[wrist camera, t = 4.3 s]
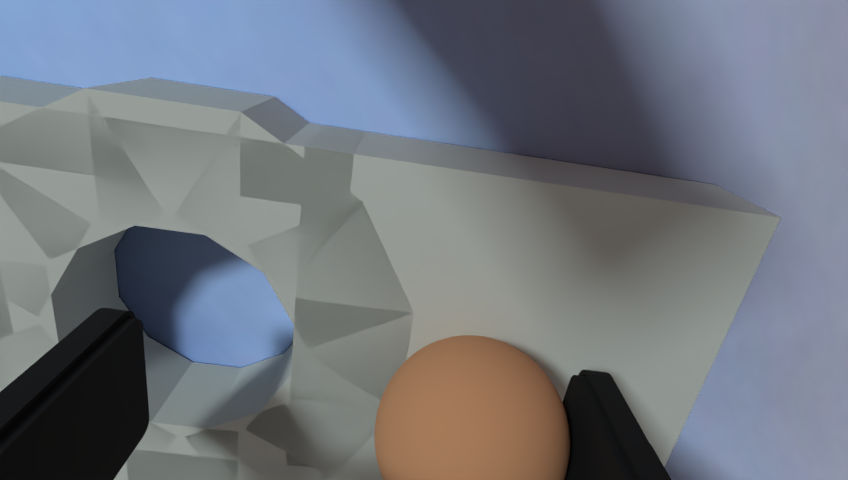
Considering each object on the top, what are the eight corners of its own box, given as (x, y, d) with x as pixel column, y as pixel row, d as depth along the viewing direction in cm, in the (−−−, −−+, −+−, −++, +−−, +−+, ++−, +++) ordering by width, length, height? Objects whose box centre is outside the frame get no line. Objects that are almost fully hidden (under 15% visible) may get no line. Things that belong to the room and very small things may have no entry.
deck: (723, 166, 13) (791, 195, 10) (558, 576, 19) (578, 652, 17) (-26, 49, 11) (-139, 54, 9) (65, 531, 18) (12, 606, 15)
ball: (642, 416, 8) (422, 447, 7) (579, 569, 10) (389, 618, 9) (529, 297, 12) (367, 303, 10) (495, 424, 13) (350, 442, 12)
